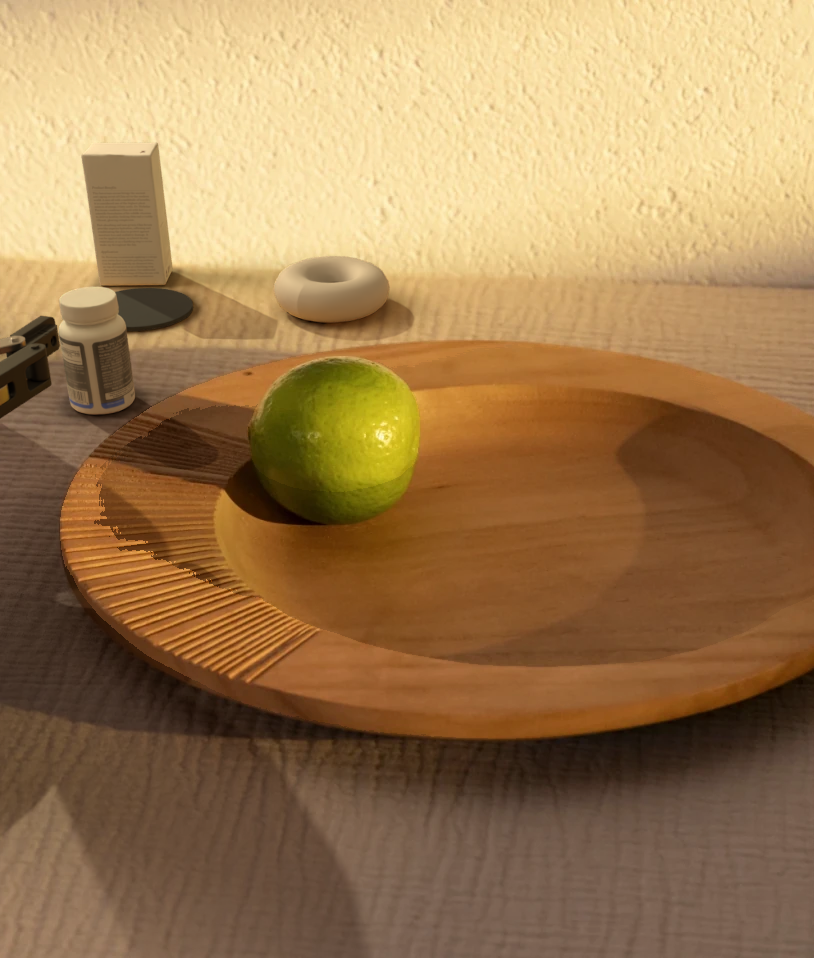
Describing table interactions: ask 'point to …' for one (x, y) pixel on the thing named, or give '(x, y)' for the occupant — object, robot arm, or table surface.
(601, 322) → the table surface
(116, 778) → the table surface
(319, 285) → the donut
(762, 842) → the table surface
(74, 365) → the pill bottle
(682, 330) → the table surface
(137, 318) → the coaster
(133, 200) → the cosmetic box
